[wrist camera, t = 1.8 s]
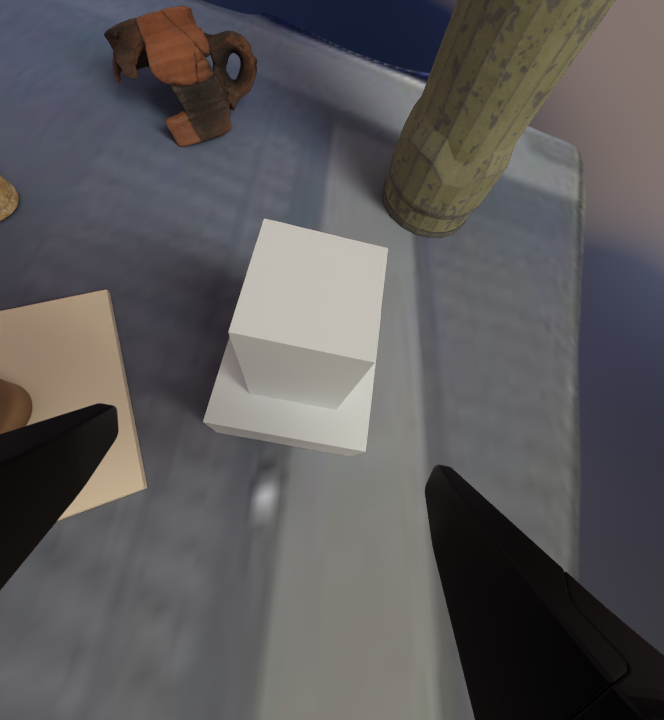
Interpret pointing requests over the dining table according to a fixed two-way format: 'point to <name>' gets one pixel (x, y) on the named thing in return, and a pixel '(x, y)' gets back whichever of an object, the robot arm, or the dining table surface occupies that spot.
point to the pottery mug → (185, 68)
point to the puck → (13, 406)
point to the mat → (75, 380)
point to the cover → (302, 342)
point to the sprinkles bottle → (7, 198)
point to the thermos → (481, 104)
